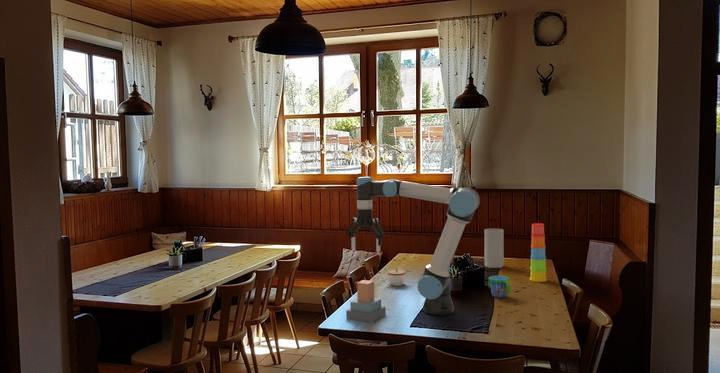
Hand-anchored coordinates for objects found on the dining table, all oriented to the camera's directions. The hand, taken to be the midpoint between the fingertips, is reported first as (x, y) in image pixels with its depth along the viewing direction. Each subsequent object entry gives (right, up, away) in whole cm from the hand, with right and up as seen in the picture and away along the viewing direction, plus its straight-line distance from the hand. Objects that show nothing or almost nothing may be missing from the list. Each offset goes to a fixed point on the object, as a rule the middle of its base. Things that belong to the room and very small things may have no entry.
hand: (365, 251), depth 262 cm
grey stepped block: (0, -31, -4) cm, 31 cm away
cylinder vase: (+88, -23, +99) cm, 135 cm away
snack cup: (+73, -28, +27) cm, 83 cm away
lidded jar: (+19, -27, +56) cm, 65 cm away
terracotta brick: (0, -23, -5) cm, 24 cm away
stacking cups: (+105, -25, +60) cm, 124 cm away
